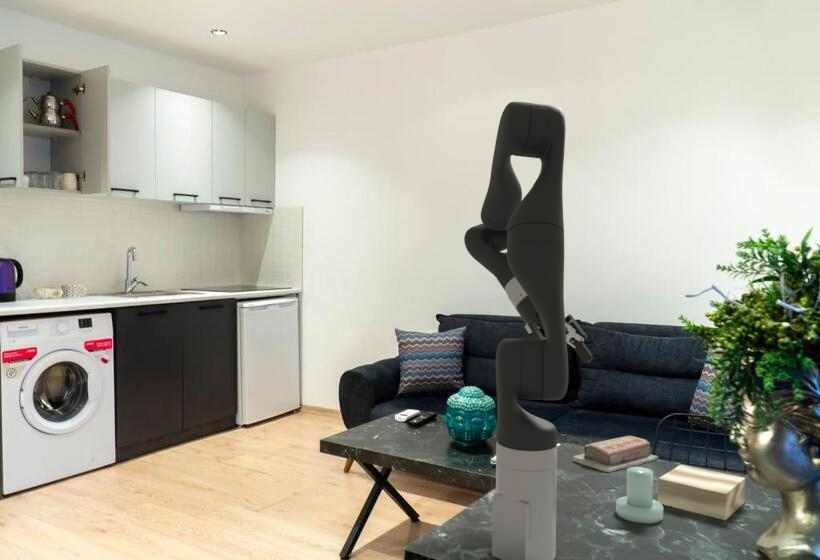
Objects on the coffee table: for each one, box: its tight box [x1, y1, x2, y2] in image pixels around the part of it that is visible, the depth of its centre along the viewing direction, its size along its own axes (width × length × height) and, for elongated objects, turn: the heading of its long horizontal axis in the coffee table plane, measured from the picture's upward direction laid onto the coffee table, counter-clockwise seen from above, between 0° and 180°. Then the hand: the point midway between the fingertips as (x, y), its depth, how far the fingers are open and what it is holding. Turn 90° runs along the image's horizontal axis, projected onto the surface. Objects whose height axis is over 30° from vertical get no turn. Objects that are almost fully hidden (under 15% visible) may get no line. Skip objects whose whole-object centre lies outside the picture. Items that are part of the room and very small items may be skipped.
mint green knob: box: [615, 466, 664, 524], centre depth 117 cm, size 8×8×8 cm
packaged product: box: [572, 435, 659, 473], centre depth 150 cm, size 18×5×10 cm
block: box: [657, 464, 747, 521], centre depth 124 cm, size 12×12×5 cm
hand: (577, 364), depth 125 cm, fingers open, 8 cm apart
